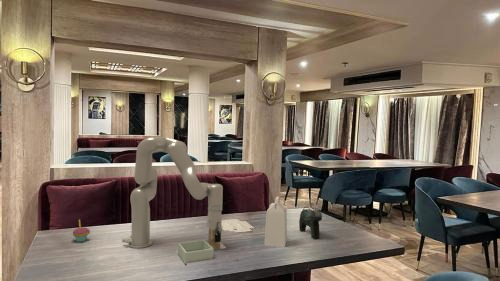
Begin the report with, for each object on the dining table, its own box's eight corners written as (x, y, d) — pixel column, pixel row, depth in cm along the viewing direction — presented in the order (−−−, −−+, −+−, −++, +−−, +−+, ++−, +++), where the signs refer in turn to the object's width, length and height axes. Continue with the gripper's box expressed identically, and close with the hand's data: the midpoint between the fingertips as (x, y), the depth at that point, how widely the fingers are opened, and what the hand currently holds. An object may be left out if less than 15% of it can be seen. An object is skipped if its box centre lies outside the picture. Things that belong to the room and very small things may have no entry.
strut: (211, 248, 177) (212, 227, 176) (208, 245, 181) (208, 225, 180) (220, 246, 179) (220, 226, 178) (217, 243, 183) (217, 224, 183)
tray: (242, 219, 238) (242, 214, 238) (257, 233, 212) (257, 227, 212) (214, 222, 231) (214, 216, 230) (226, 236, 205) (226, 230, 204)
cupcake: (69, 241, 185) (69, 219, 184) (83, 236, 192) (83, 216, 192) (79, 244, 181) (79, 222, 180) (93, 239, 188) (93, 218, 188)
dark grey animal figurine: (322, 239, 199) (323, 206, 199) (312, 240, 197) (314, 207, 196) (304, 229, 218) (305, 199, 217) (296, 230, 216) (297, 199, 215)
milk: (284, 247, 185) (286, 200, 184) (264, 245, 188) (265, 199, 186) (286, 240, 197) (288, 196, 196) (267, 238, 199) (268, 194, 198)
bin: (185, 265, 158) (185, 252, 157) (177, 254, 170) (178, 243, 170) (213, 260, 164) (213, 248, 164) (204, 250, 176) (204, 239, 176)
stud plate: (208, 253, 173) (208, 240, 173) (202, 246, 182) (202, 235, 182) (226, 250, 178) (226, 238, 177) (219, 244, 187) (219, 232, 186)
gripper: (203, 204, 185) (202, 234, 186) (214, 212, 169) (213, 245, 170) (216, 203, 188) (215, 233, 189) (228, 210, 173) (227, 243, 174)
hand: (214, 238), depth 180 cm, fingers open, 9 cm apart
